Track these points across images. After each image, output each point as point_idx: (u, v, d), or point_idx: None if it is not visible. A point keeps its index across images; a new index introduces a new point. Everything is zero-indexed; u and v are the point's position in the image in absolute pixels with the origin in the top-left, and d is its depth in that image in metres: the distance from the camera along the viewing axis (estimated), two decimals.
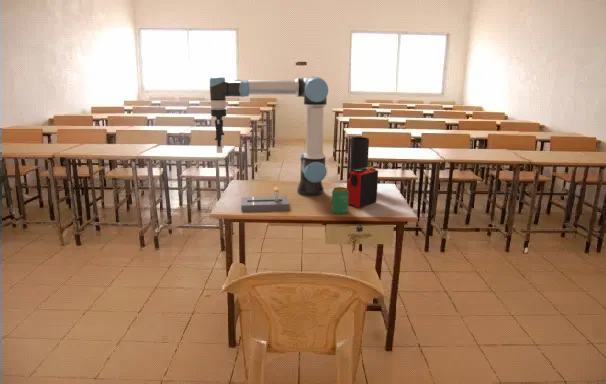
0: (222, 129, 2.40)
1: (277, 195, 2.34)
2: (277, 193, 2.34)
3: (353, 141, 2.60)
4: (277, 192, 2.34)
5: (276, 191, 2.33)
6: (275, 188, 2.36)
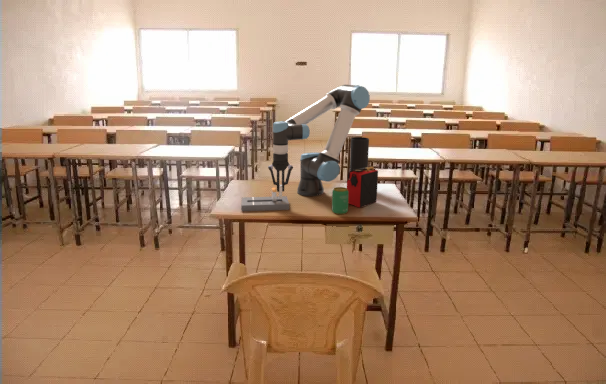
0: None
1: (275, 195, 2.34)
2: (275, 193, 2.34)
3: (353, 141, 2.60)
4: (275, 192, 2.33)
5: (274, 191, 2.33)
6: (273, 188, 2.36)
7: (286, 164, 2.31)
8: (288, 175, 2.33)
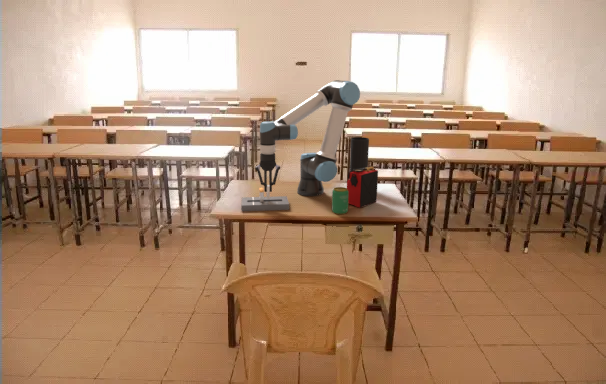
0: (271, 179, 2.33)
1: (262, 195, 2.33)
2: (262, 193, 2.33)
3: (353, 141, 2.60)
4: (262, 192, 2.33)
5: (261, 191, 2.32)
6: (260, 188, 2.35)
7: (273, 164, 2.31)
8: (275, 175, 2.32)
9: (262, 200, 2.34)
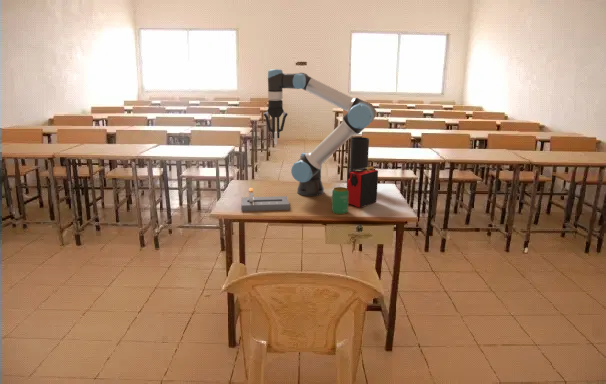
0: None
1: (252, 196, 2.32)
2: (252, 194, 2.32)
3: (353, 141, 2.60)
4: (252, 193, 2.32)
5: (251, 192, 2.32)
6: (250, 189, 2.34)
7: (281, 111, 2.41)
8: (283, 122, 2.42)
9: (252, 200, 2.33)
